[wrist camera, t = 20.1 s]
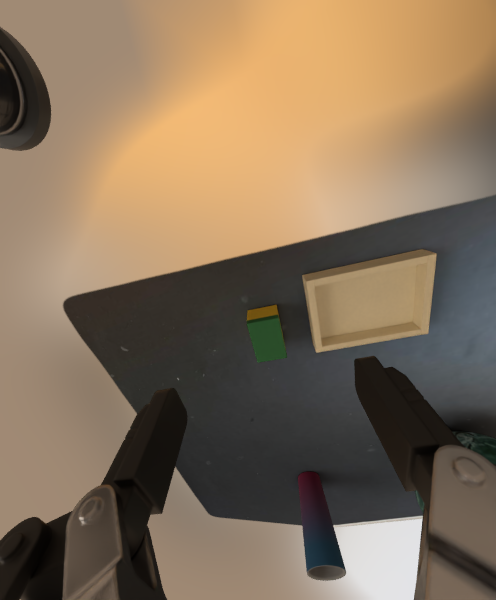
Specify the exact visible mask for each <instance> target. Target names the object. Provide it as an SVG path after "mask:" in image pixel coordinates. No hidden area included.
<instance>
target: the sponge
mask: <svg viewBox="0 0 496 600" xmlns="http://www.w3.org/2000/svg"><path fill="white" fill-rule="evenodd" d="M247 327H248V330H249V334H250V337H251V341H252V344H253V348H254V351H255V355H256V358H257V362H264V361H270V360H276V359H282V358H287V353H286V348H285V343H284V338H283V333H282V329H281V324H280V319H279V314H278V310H277V305H273V306H268V307H263V308H258V309H253V310H248V313H247Z"/></svg>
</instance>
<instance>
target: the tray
mask: <svg viewBox="0 0 496 600" xmlns="http://www.w3.org/2000/svg"><path fill="white" fill-rule="evenodd" d="M436 255H437V254H436V253H433V252H430V251H427V250H424V249H420V250H416V251H411V252H406V253H402V254H397V255H393V256H388V257H383V258H379V259H374V260H370V261H365V262H360V263H356V264H351V265H346V266H342V267H337V268H333V269H328V270H323V271H319V272H314V273H310V274H305V275H302V276H303V283H304V289H305V296H306V303H307V309H308V316H309V322H310V329H311V336H312V342H313V345H314V348H315V350H316V353H317V352H323V351H329V350H335V349H340V348H346V347H352V346H358V345H364V344H369V343H375V342H381V341H387V340H393V339H399V338H404V337H410V336H416V335H420V334H421V335H423V334H428V330H429V320H430V311H431V302H432V292H433V283H434V274H435V264H436Z"/></svg>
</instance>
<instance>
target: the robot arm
mask: <svg viewBox="0 0 496 600" xmlns="http://www.w3.org/2000/svg"><path fill="white" fill-rule="evenodd" d="M26 113H27V97H26V92H25V88H24V84H23V81H22V79H21V76H20V74H19V72H18V70H17V68H16V66H15V65H14V63H13V61H12V60H11V58H10V57H9V56H8V54H7V53H6V52H5V51H4V49H3V48H2V47H1V46H0V136H6V135H10V134H13V133H15V132H16V131H17V130H19V129H20V127H21V126H22V124H23V123H24V120H25V117H26ZM354 366H355V387H356V392H357V395H358V398H359V400H360V402H361V404H362V406H363V408H364V410H365V412H366V414H367V416H368V418H369V420H370V422H371V424H372V426H373V428H374V430H375V432H376V434H377V436H378V437H379V439H380V441H381V443H382V445H383V447H384V449H385V451H386V453H387V455H388V457H389V459H390V461H391V463H392V465H393V467H394V469H395V471H396V473H397V475H398V477H399V479H400V481H401V483H402V485H403V487H404V489H405V491H416V490H417V491H418V493H419V495H420V497H421V499H422V500H423V502H424V511H423V521H422V531H421V542H420V552H419V562H418V572H417V582H416V589H415V595H414V600H496V464H493V463H491V462H490V461H489V460H487V459H486V458H485V457H483V456H482V455H480V454H479V453H477V452H475V451H473V450H471V449H468V448H466V447H465V446H464V445H463V444H462V443H461V442H460V441H459V440H458V439H457V437H456V436H455V435H454V434H453V432H452V431H451V430H450V429H449V428H448V426H447V425H446V424H445V423H444V421H443V420H442V419H441V418H440V417H439V415H438V414H437V413H436V412H435V411H434V409H433V408H432V407H431V406H430V404H429V403H428V402H427V401H426V400H424V398H423V396H422V395H421V393H420V392H419V391H418V390H416V388H415V386H414V385H413V384H412V383H411V381H410V380H409V379H408V378H407V376H406V375H404V374H403V373H401V372H400V371H398V370H396V369H395V368H393V367H388V368H384V367H383V366H382V364H381V363H380V362H379V360H378V359H377V358H376V357H375V356H371V357H365V358H358V359H355V361H354ZM186 425H187V411H186V409H185V407H184V405H183V403H182V401H181V399H180V397H179V395H178V393H177V391H176V390H175V389H174V388H170V389H164V390H158V391H156V392H155V393H154V395H153V397H152V400H151V402H150V404H147V405H145V406H144V407H143V409H142V410H141V411H140V412H139V413H138V414H137V416H136V418H135V420H134V421H133V423H132V426H131V427H130V428H131V429H130V430H129V431H128V433H127V435H126V437H125V440H124V441H123V443H122V445H121V447H120V449H119V451H118V453H117V455H116V457H115V459H114V461H113V463H112V465H111V467H110V469H109V471H108V473H107V475H106V477H105V478H104V480H103V482H102V484H101V485H100V486H98V487H96V488H94V489H93V490H91V491H90V492H88V493H87V494H86V495H85V496H84V497H83V498H82V499H81V500H80V501H79V503H78V504H77V505H76V506H75V508H74V510H73V511H71V512H69V513H67V514H65V515H63V516H61V517H59V518H57V519H55V520H53V521H51V522H49V523H44V522H43V521H41V520H40V519H39V518H37V517H32V518H28V519H26V520H24V521H22V522H21V523H19V524H18V525H17V526H15V527H14V528H13V529H11V530H10V531H9V532H8V533H7V534H6V535H5V536H4V537H3V538H2V540H0V600H19V599H21V600H167V599H166V597H165V594H164V591H163V588H162V584H161V580H160V575H159V571H158V566H157V562H156V558H155V553H154V549H153V545H152V540H151V536H150V532H149V528H148V526H147V524H148V520H149V517H150V515H151V514H161V513H162V512H163V508H164V504H165V501H166V497H167V493H168V490H169V486H170V483H171V479H172V475H173V472H174V468H175V465H176V461H177V457H178V454H179V450H180V447H181V443H182V439H183V436H184V432H185V429H186Z"/></svg>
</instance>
